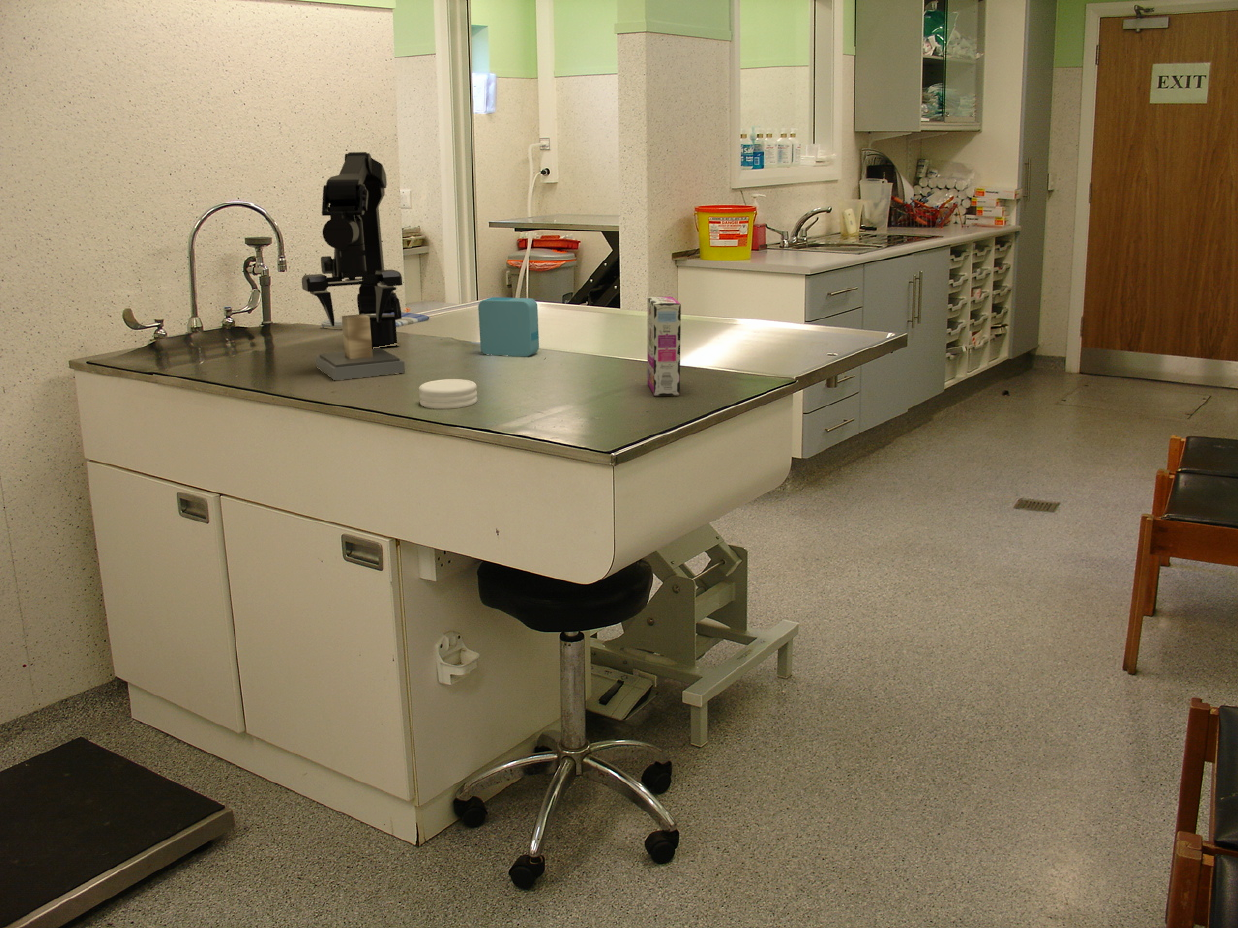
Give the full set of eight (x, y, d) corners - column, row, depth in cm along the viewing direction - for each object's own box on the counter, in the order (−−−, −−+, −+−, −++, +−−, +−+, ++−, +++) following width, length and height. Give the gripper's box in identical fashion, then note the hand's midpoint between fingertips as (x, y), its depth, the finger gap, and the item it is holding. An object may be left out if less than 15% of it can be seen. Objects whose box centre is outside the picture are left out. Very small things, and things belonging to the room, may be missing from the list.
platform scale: (383, 361, 229) (382, 347, 228) (405, 373, 216) (403, 358, 215) (316, 368, 223) (315, 353, 222) (334, 381, 209) (333, 365, 209)
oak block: (367, 353, 221) (363, 314, 219) (372, 356, 218) (369, 317, 215) (345, 355, 220) (341, 316, 217) (350, 358, 216) (346, 318, 213)
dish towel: (318, 330, 276) (317, 319, 275) (382, 318, 295) (381, 308, 295) (369, 335, 267) (368, 324, 267) (431, 322, 287) (430, 311, 286)
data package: (539, 353, 235) (537, 298, 231) (531, 357, 231) (529, 301, 227) (489, 351, 239) (486, 297, 235) (480, 355, 234) (477, 299, 231)
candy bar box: (682, 396, 191) (681, 303, 186) (653, 397, 191) (652, 304, 186) (673, 383, 202) (673, 295, 197) (646, 384, 201) (645, 296, 197)
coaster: (435, 396, 195) (434, 377, 194) (486, 399, 193) (485, 379, 192) (409, 408, 186) (408, 388, 185) (462, 411, 183) (461, 391, 182)
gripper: (384, 240, 223) (390, 315, 228) (292, 244, 215) (300, 323, 220) (400, 243, 214) (405, 322, 218) (304, 248, 206) (312, 330, 210)
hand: (355, 324), depth 217 cm, fingers open, 9 cm apart
